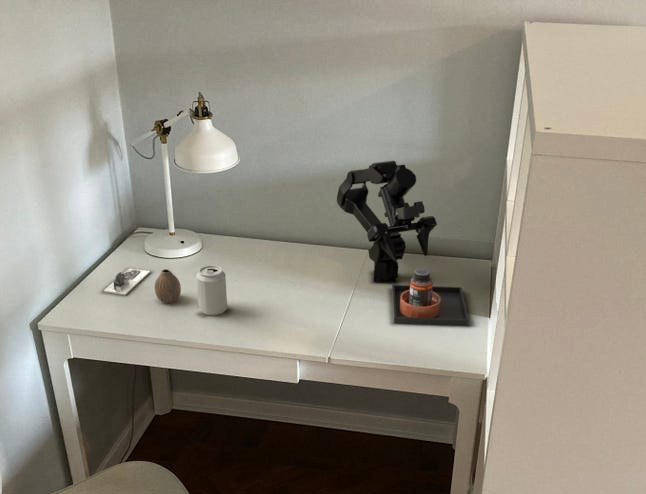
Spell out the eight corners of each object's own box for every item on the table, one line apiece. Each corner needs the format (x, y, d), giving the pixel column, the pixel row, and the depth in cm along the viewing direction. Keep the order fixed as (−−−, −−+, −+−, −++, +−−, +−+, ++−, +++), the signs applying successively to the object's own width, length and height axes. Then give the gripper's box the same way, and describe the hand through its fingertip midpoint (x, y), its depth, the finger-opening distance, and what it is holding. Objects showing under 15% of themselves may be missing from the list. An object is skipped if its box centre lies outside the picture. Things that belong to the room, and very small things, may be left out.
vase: (186, 297, 217) (184, 268, 212) (172, 308, 212) (169, 278, 207) (165, 292, 220) (162, 263, 215) (151, 302, 214) (147, 273, 210)
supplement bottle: (430, 305, 215) (434, 267, 209) (430, 315, 210) (434, 277, 204) (408, 304, 216) (411, 266, 210) (408, 314, 211) (411, 275, 205)
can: (232, 306, 213) (230, 266, 207) (219, 319, 207) (217, 277, 201) (207, 301, 215) (204, 261, 209) (194, 314, 209) (190, 273, 203)
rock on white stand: (125, 295, 218) (123, 280, 215) (103, 292, 219) (101, 277, 217) (150, 272, 230) (148, 258, 228) (129, 269, 231) (127, 255, 229)
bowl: (400, 320, 209) (401, 306, 207) (398, 301, 218) (399, 288, 216) (440, 321, 208) (442, 307, 206) (437, 302, 217) (439, 289, 215)
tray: (393, 323, 207) (394, 317, 206) (392, 290, 223) (392, 284, 222) (468, 325, 207) (468, 320, 206) (460, 292, 223) (461, 287, 222)
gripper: (373, 195, 204) (390, 251, 201) (437, 187, 210) (454, 241, 208) (359, 214, 214) (375, 267, 211) (420, 205, 221) (436, 257, 218)
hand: (411, 258), depth 212 cm, fingers open, 9 cm apart
